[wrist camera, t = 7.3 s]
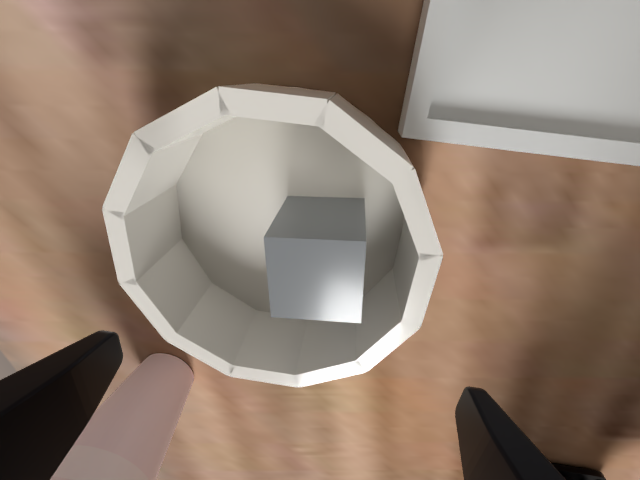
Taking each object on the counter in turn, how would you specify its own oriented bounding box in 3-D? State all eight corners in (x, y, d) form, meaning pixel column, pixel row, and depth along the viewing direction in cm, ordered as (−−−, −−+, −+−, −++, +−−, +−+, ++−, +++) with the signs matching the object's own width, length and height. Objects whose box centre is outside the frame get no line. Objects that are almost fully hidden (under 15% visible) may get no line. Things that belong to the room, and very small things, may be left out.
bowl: (447, 104, 14) (486, 117, 9) (388, 331, 20) (396, 403, 15) (156, 70, 14) (70, 68, 10) (183, 300, 20) (135, 361, 16)
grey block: (360, 265, 17) (361, 323, 13) (291, 261, 17) (271, 317, 13) (364, 198, 15) (366, 241, 11) (287, 195, 15) (263, 236, 12)
